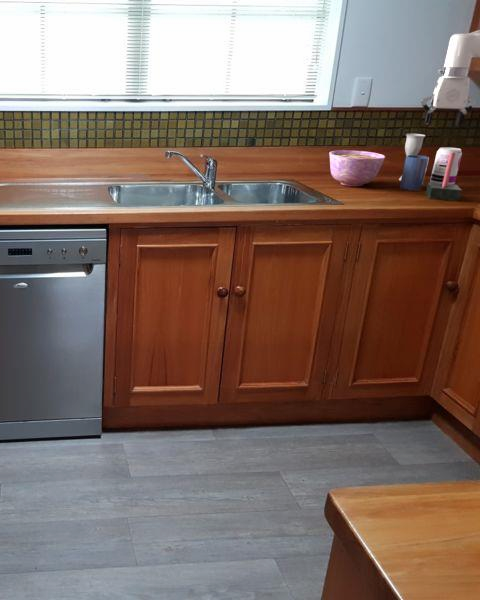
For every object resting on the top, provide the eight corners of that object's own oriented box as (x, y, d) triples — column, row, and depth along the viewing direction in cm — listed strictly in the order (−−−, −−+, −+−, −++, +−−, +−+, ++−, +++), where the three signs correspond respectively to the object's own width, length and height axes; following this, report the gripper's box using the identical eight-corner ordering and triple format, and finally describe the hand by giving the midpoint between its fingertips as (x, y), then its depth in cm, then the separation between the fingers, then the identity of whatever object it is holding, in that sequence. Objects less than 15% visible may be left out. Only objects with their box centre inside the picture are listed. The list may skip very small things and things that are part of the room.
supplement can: (450, 187, 236) (460, 147, 230) (454, 191, 229) (465, 151, 223) (427, 185, 238) (436, 146, 232) (430, 189, 231) (440, 149, 225)
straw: (443, 197, 220) (455, 152, 214) (444, 197, 218) (455, 152, 212) (439, 196, 220) (449, 151, 214) (439, 197, 219) (450, 152, 213)
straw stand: (454, 195, 222) (457, 184, 220) (458, 201, 214) (461, 190, 212) (425, 193, 225) (428, 182, 223) (429, 198, 217) (431, 187, 215)
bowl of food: (389, 186, 236) (396, 156, 232) (359, 192, 226) (365, 160, 221) (344, 177, 251) (349, 148, 247) (313, 182, 241) (318, 152, 236)
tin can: (420, 187, 235) (427, 156, 230) (422, 191, 228) (430, 159, 224) (398, 185, 237) (405, 154, 233) (400, 189, 231) (407, 157, 226)
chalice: (398, 177, 252) (407, 133, 245) (416, 179, 248) (426, 134, 241) (394, 180, 246) (404, 135, 239) (413, 182, 243) (423, 136, 236)
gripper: (430, 73, 204) (419, 125, 211) (487, 74, 201) (474, 127, 207) (424, 72, 211) (413, 123, 217) (478, 73, 208) (465, 125, 214)
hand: (442, 125), depth 212 cm, fingers open, 9 cm apart
